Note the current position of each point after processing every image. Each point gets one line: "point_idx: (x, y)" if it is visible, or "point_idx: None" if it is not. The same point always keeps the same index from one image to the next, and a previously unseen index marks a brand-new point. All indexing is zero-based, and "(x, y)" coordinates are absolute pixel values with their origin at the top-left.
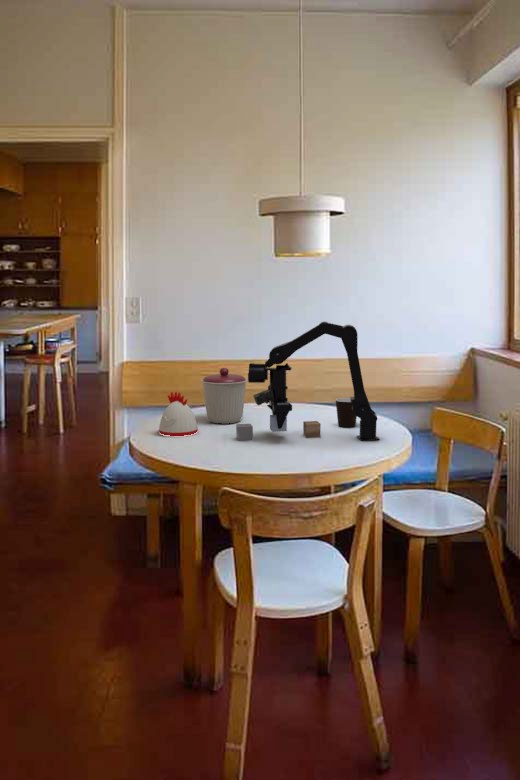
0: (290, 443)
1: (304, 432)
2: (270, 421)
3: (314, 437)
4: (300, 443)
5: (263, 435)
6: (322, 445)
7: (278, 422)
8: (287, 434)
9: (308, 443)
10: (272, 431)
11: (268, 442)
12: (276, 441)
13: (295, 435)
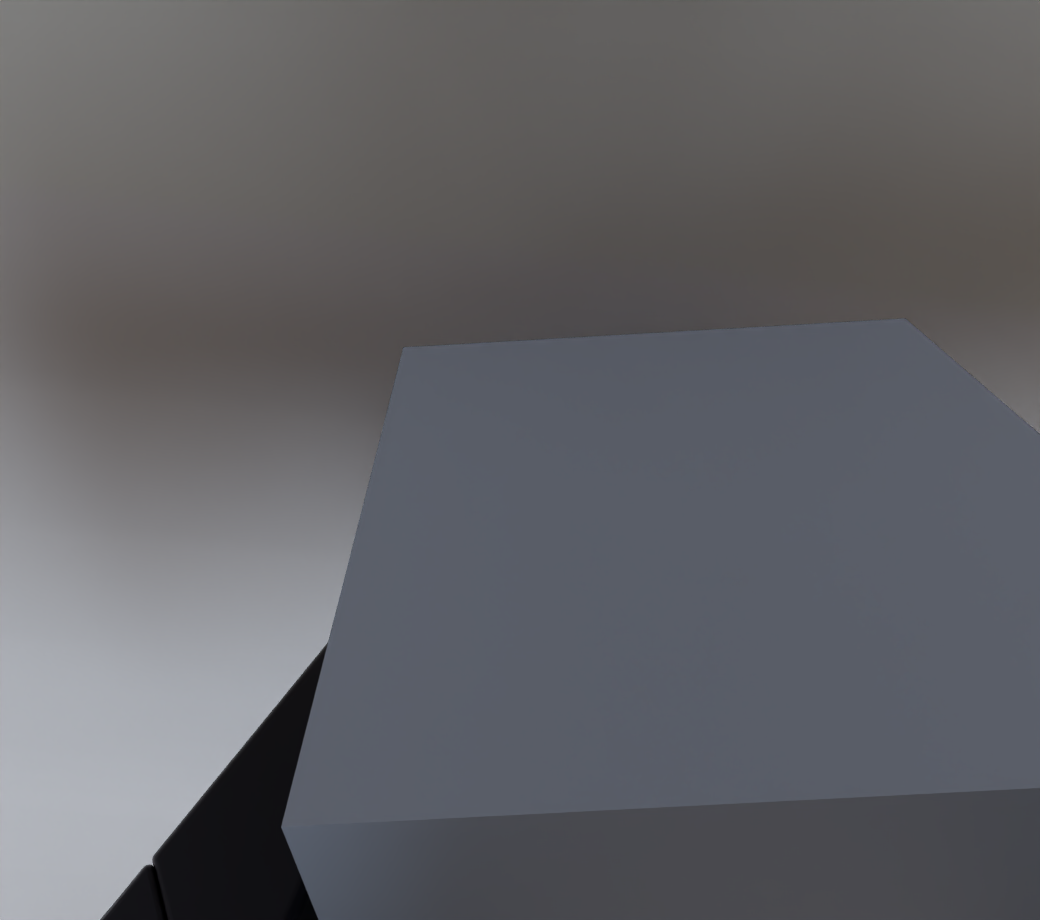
0: (44, 565)
1: None
2: (935, 495)
3: None
4: (79, 698)
5: (1021, 54)
6: (3, 886)
7: (248, 776)
8: None
9: (101, 782)
10: (428, 349)
11: (53, 89)
12: (207, 325)
13: None
